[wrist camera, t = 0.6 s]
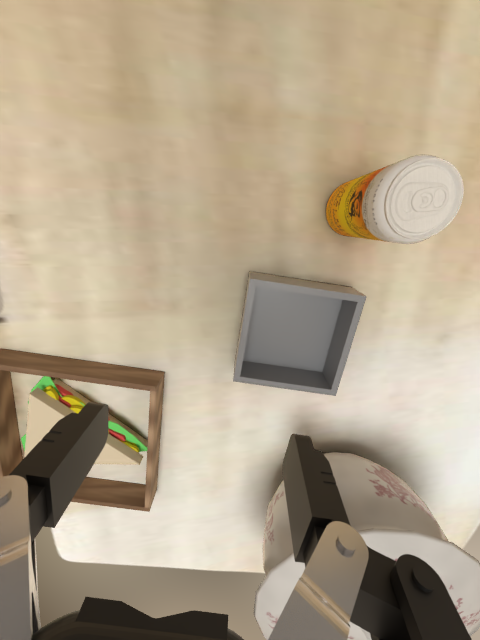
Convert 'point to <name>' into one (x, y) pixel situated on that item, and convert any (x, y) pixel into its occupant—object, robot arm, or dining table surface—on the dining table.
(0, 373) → the serving board rim
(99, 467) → the dining table surface
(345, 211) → the beer can
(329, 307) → the box
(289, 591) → the chamber pot
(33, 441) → the sandwich
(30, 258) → the dining table surface
